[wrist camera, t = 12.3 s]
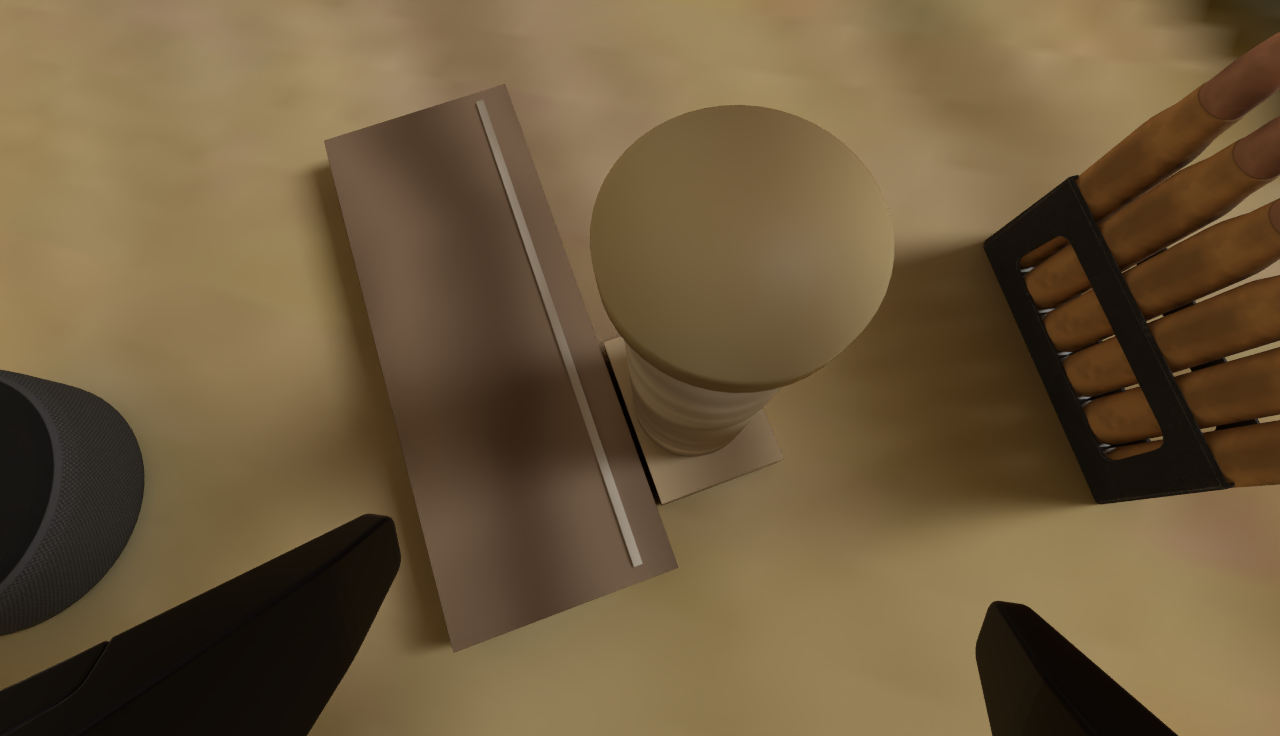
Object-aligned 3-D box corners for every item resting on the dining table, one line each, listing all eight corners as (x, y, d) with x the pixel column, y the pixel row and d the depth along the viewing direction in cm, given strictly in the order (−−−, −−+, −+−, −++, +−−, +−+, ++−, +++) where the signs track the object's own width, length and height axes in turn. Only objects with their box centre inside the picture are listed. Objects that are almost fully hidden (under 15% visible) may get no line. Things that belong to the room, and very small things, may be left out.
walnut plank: (470, 642, 20) (452, 653, 19) (346, 166, 25) (322, 138, 24) (676, 563, 21) (678, 567, 19) (514, 113, 26) (504, 82, 24)
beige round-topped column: (658, 506, 21) (668, 474, 8) (604, 355, 23) (538, 121, 10) (777, 462, 22) (971, 361, 8) (716, 316, 23) (800, 38, 10)
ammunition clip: (981, 242, 24) (1286, -23, 12) (1023, 232, 24) (1367, -41, 12) (1096, 505, 21) (1628, 479, 10) (1144, 492, 21) (1730, 451, 10)
